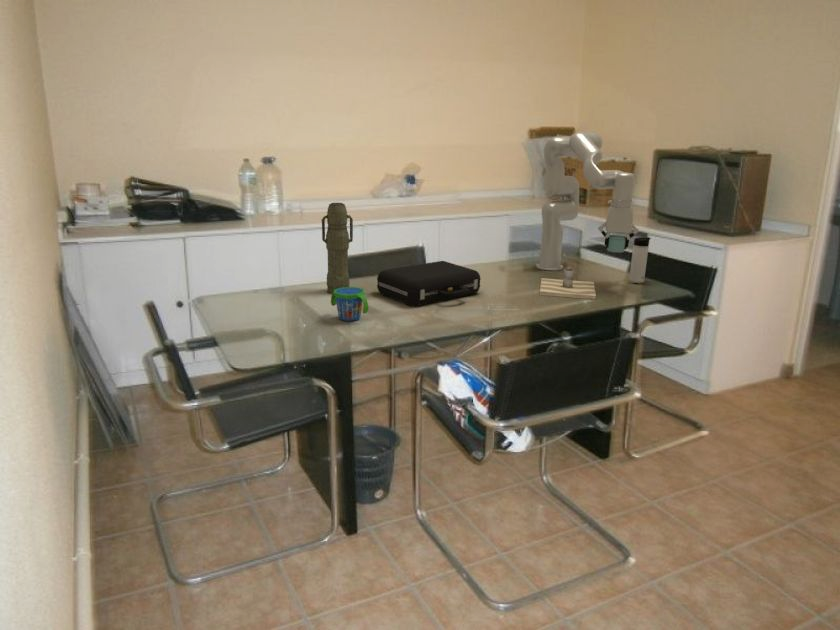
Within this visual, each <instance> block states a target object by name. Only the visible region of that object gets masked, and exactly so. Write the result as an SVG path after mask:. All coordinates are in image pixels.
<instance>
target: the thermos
mask: <svg viewBox="0 0 840 630" xmlns="http://www.w3.org/2000/svg"><path fill="white" fill-rule="evenodd" d="M347 210H348V209H347V207H346V204H344V203H343V202H332V203H329V204H328V207H327V212H326V215H324V216H323V217H322V218H321V238H322V239H321V240H322V241H323V242H324V243H325V245H326V246H325V247H326V251H327V274H326V286H327V290H326V291H327V293H328V294H331V295H332V293H333V291H334V290H336V289H338V288H342V287H350V275H349V255H348V254H349V251H348V250H349V248H350V243H352V242H353V240H354V239H353V238H354V233H353V232H354V231H353V230H354V228H353V227H354V224H353V223H354V221H353V217H352V216H351V215H349V214H348V211H347ZM348 219H349V231H348V227H347V225H348ZM326 220H327V221H326ZM325 221H326V222H325ZM326 223H327V228H326V225H325V224H326ZM326 229H327V231H326Z"/></svg>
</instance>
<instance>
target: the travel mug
mask: <svg viewBox="0 0 840 630" xmlns="http://www.w3.org/2000/svg"><path fill="white" fill-rule="evenodd" d="M650 240H651V237H650V236H648V237H646V236H644V237H641V236H640V237H635V238H634V240H633V248H632V254H631V262H630V263H631V264H630V270H629V278H628V282H629V281H630V282H632V283H631V284H633V283H643V284H645V277H646V276H645V275H646V270H647V261H648V254H649V247H650V246H649V244H650ZM630 282H629V283H630Z"/></svg>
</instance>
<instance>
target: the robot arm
mask: <svg viewBox="0 0 840 630" xmlns="http://www.w3.org/2000/svg"><path fill="white" fill-rule="evenodd" d="M602 146H603V140H602V137H601V136H600V134H599V133H597V132H594V131H577V132H575V133H573V134H572V135H570V136H564V135H563V136H553V137H551V138H550V139H548V140H547V141H546V142H545V144H544V147H543V158H544V159H543V160H544V165H545V173H544V174H545V175H544V177H545V178H544V179H545V184H544V185H545V186H544V187H545V194H546V196H547V197H550V198H563V199H557V200H556V199H555V200H548V201H546V202H545V203H544V204H543V205H542V207H541V220H542V224H541V225H542V226H541V227H542V228H541V229H542V230H541V243H540V254H539V255H540V256H539V262H538V263H536V264H535V267H536V268H537V269H539V270H543V271H551V272H552V271H553V272H554V271H555V272H556V271H561V270H564V265H562V264H561V257H562V246H563V237H564V236H563V235H564V231H563V230H564V229H563V227H562V224H561V222H563V221H564V222H566V221H573V220H575V219H576V218H578V214H579V210H580V183H579V181H578V179H577V177H575V176H573V175H565V172H566V171H565V164H564V161H563V159H562V158H561V157H577V158H578V159H579V160H580V161H581V162H582V164H583V167H582V173H583V176H584V178H585V180H586V181H587V182H588V184H589V185H590V186H592V187H593V189H596V190H612V199H610V200H609V199H608V201H607V204H608V205H610V206H609V208H608V211H607V216H606V220H605V222H603V223H602V224H601V225H599V226H598V228H597V229H598V230H599V232H600V233H601V234H602V236H603V237H604V238H605V239H604V246H605V248H606V249H607V248H608V245H609V235H612V233H614V234H625V236H626V241H625V250H627V248H629V245H630V244H629V243H630V239H632V238H633V237H634V236H635V235H636V234H638V233H639V229H638V228H637V227H636V226H635V224H633V222H634V209H633V207H632V200H633V194H634V186H635V179H636V177H635V174H634V173H632V172H627V171H626V172H624V171H622V170H619V169H604V170H602V169H599V168H598V167H597V165H598V164H599V163H600V162H601V161H602V157H603V153H602V151H601V148H602ZM604 228H605V230H604ZM632 230H633V231H632ZM605 231H606V232H605Z"/></svg>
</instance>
